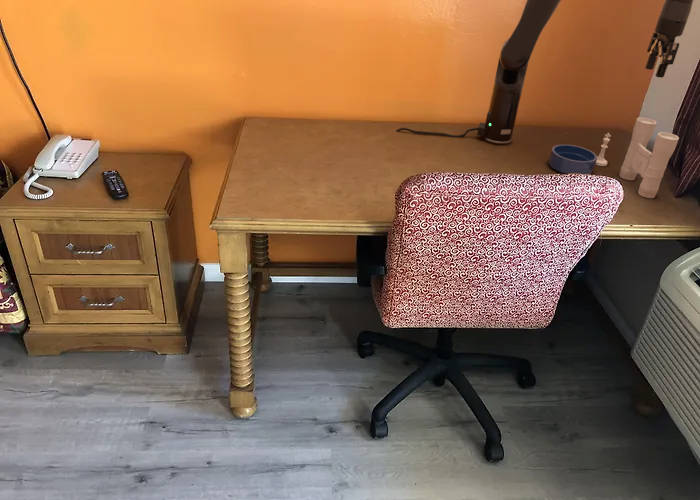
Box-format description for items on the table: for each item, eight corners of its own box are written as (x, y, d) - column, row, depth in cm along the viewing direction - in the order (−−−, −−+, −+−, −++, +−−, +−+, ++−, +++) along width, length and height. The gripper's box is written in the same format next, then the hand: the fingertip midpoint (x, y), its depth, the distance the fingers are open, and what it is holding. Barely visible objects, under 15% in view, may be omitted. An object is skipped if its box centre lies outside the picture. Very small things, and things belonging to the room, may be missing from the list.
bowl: (547, 172, 183) (551, 156, 181) (548, 156, 194) (552, 141, 192) (593, 180, 180) (598, 165, 178) (591, 164, 191) (596, 149, 189)
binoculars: (614, 172, 187) (633, 116, 177) (631, 173, 187) (650, 117, 178) (642, 198, 172) (664, 139, 163) (660, 199, 173) (683, 140, 163)
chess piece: (608, 166, 190) (618, 137, 185) (592, 164, 191) (601, 134, 186) (605, 160, 194) (615, 131, 189) (590, 158, 195) (599, 129, 190)
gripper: (651, 10, 180) (633, 65, 189) (670, 20, 168) (650, 78, 177) (676, 13, 180) (657, 67, 189) (697, 23, 168) (675, 81, 177)
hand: (653, 73), depth 183 cm, fingers open, 8 cm apart
